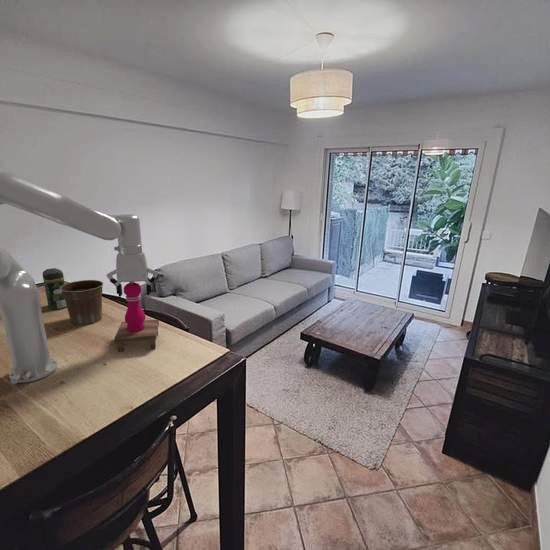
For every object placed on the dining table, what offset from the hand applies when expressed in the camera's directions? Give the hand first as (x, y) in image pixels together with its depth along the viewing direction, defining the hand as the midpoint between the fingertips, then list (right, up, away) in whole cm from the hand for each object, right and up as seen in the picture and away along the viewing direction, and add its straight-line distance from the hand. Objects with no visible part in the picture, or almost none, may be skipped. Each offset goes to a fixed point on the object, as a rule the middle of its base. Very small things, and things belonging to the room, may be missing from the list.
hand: (134, 294), depth 119 cm
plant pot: (-32, -13, +23) cm, 41 cm away
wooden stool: (-1, -19, +6) cm, 20 cm away
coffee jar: (-53, -8, +36) cm, 64 cm away
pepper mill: (-1, -13, +4) cm, 14 cm away
